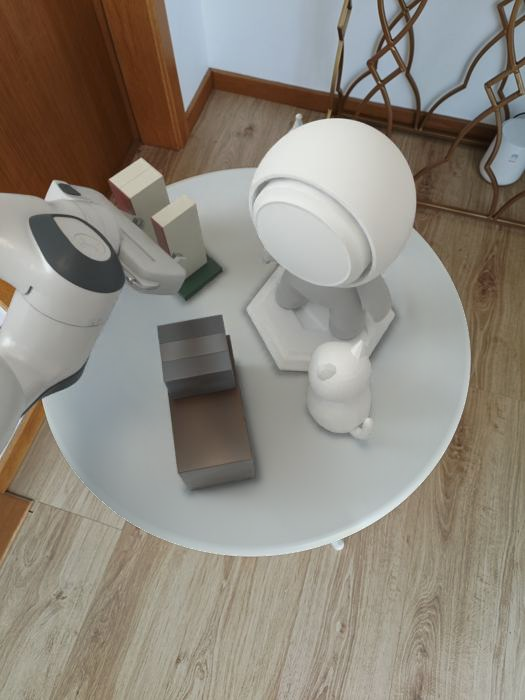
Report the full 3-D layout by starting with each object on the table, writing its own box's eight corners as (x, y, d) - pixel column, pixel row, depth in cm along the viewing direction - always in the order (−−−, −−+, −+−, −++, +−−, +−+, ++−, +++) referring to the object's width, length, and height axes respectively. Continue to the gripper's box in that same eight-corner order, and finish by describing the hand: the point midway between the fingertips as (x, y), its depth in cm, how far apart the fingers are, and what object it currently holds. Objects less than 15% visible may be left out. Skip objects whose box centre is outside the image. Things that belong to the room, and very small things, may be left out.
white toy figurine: (225, 337, 82) (193, 168, 50) (304, 235, 90) (319, 34, 58) (338, 405, 77) (382, 264, 45) (411, 290, 85) (492, 102, 53)
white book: (178, 284, 85) (161, 228, 72) (168, 275, 86) (150, 217, 73) (207, 262, 87) (196, 203, 74) (197, 253, 87) (184, 193, 75)
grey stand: (189, 490, 72) (168, 460, 57) (174, 376, 79) (152, 324, 65) (255, 477, 72) (250, 444, 58) (234, 365, 80) (225, 311, 65)
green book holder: (185, 301, 85) (168, 242, 71) (127, 246, 90) (101, 182, 76) (223, 271, 87) (213, 209, 74) (164, 219, 92) (145, 152, 78)
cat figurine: (338, 361, 80) (351, 311, 66) (392, 428, 75) (418, 389, 61) (288, 393, 78) (291, 347, 64) (340, 464, 73) (355, 431, 59)
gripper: (147, 267, 61) (219, 266, 72) (46, 171, 67) (126, 185, 79) (126, 311, 64) (198, 303, 75) (31, 215, 70) (111, 221, 82)
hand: (161, 242), depth 77 cm, fingers open, 8 cm apart
